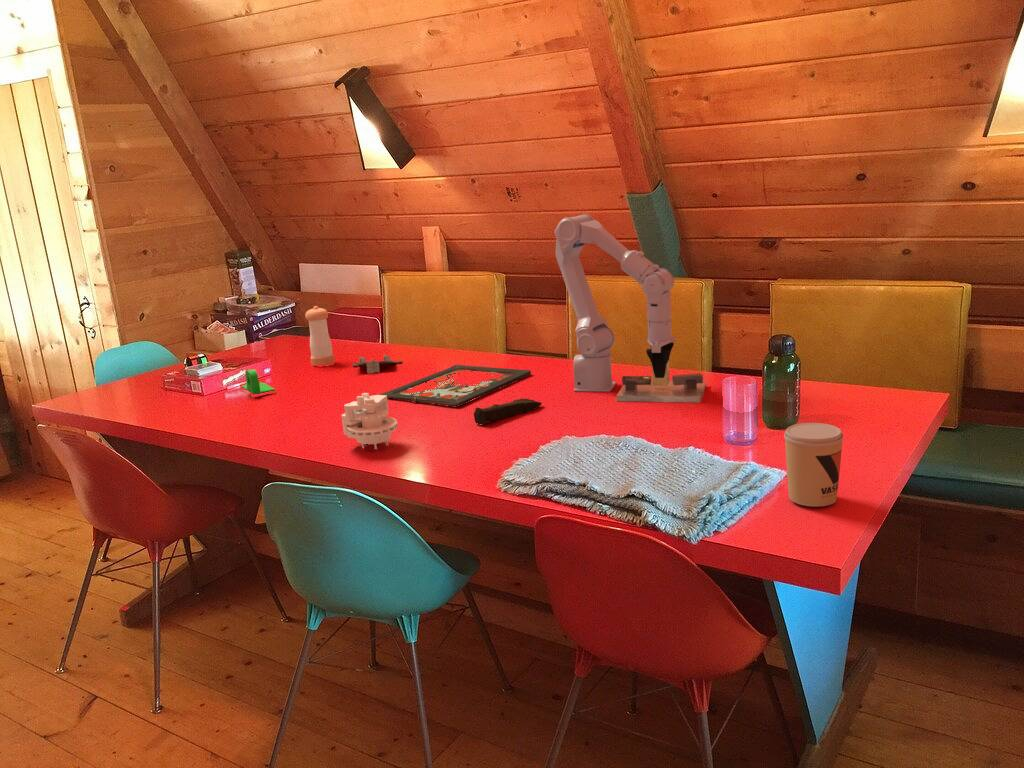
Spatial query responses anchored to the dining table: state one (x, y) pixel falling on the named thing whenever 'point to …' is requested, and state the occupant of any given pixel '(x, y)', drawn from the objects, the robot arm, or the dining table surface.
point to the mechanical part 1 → (255, 383)
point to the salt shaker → (319, 337)
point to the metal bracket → (374, 363)
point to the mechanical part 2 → (368, 420)
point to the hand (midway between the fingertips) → (661, 374)
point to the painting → (453, 393)
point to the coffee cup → (813, 463)
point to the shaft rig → (662, 389)
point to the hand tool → (504, 410)
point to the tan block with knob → (661, 381)
